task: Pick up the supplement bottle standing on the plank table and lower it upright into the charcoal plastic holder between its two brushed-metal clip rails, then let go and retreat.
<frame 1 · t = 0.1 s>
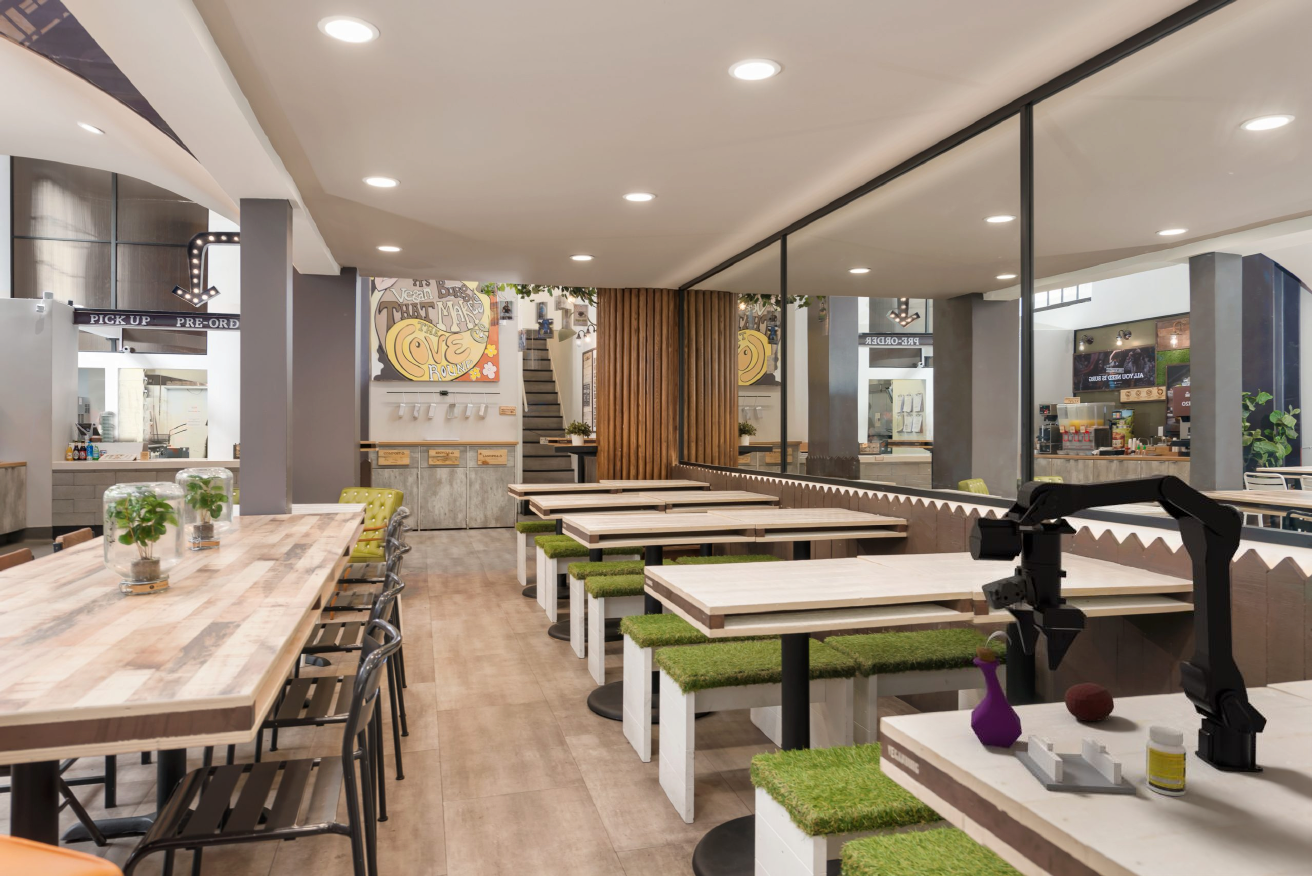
hand: (1039, 661, 126), 15 cm above the table, fingers open, 9 cm apart
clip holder: (1072, 774, 119), on the table
supplement bottle: (1165, 791, 114), on the table
purple potion bottle: (995, 743, 131), on the table
potato: (1089, 719, 144), on the table
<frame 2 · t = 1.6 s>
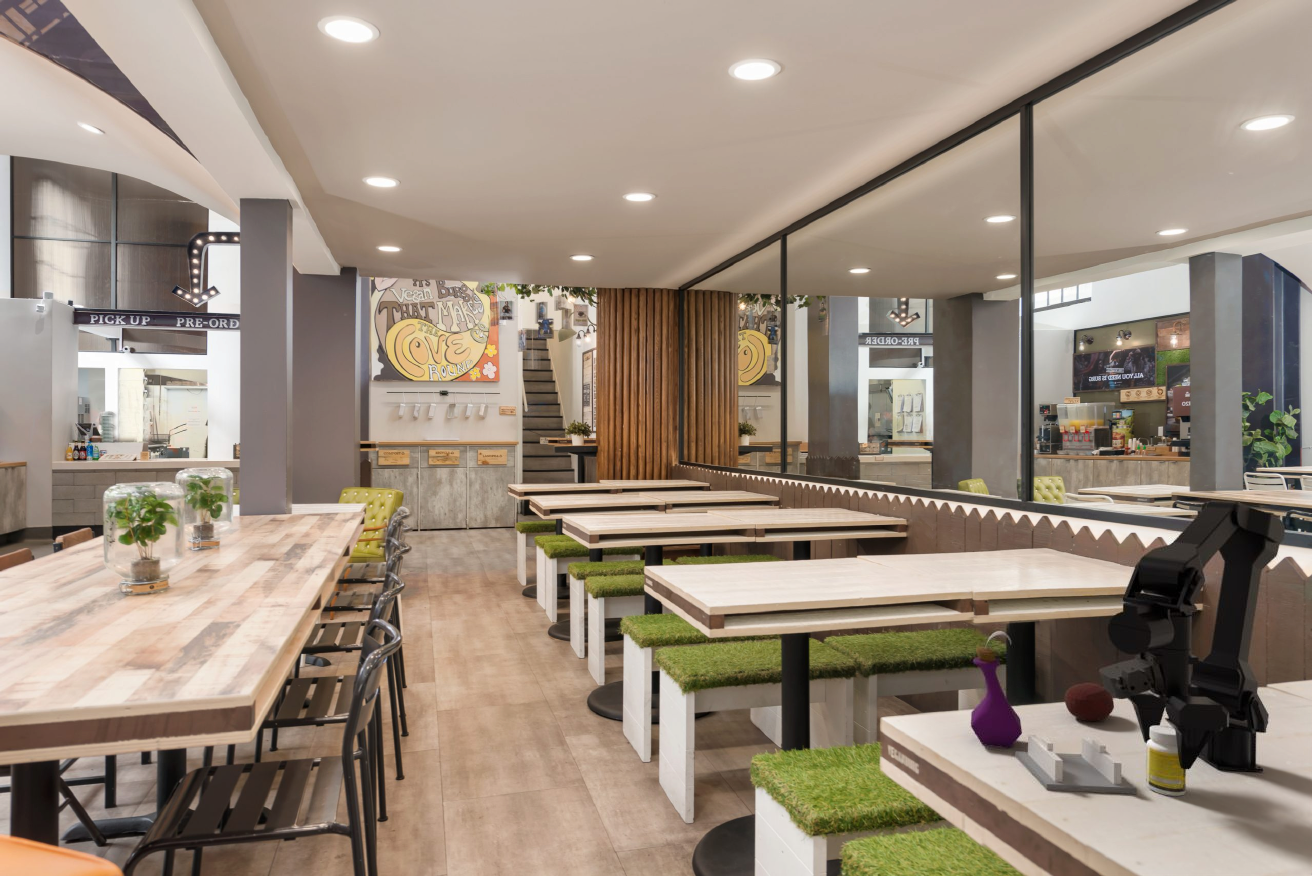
hand: (1166, 755, 114), 5 cm above the table, fingers open, 9 cm apart
nothing on the table moved.
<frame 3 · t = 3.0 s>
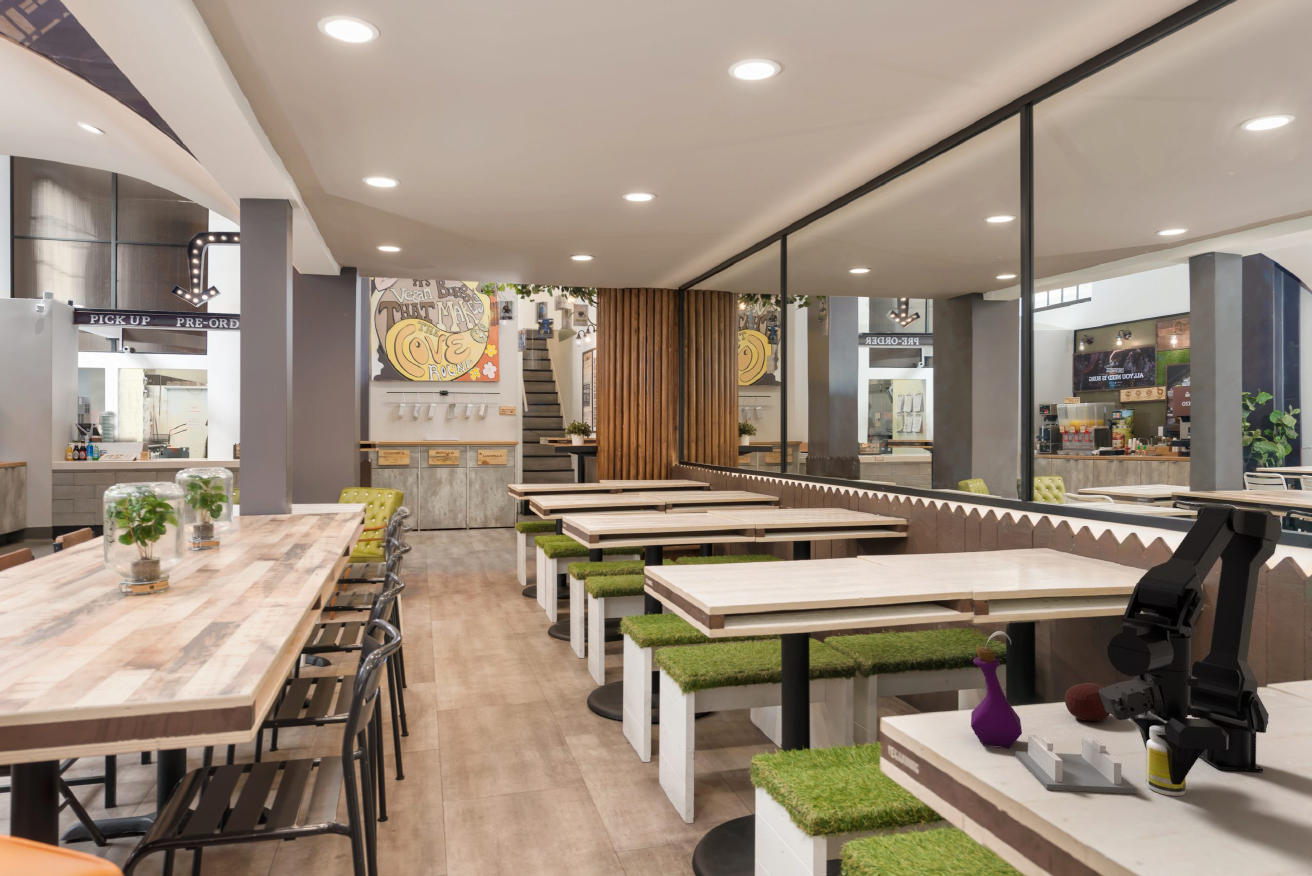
hand: (1165, 776, 114), 2 cm above the table, fingers closed on supplement bottle, 5 cm apart
supplement bottle: (1165, 790, 114), on the table, touching gripper
everything else where it was.
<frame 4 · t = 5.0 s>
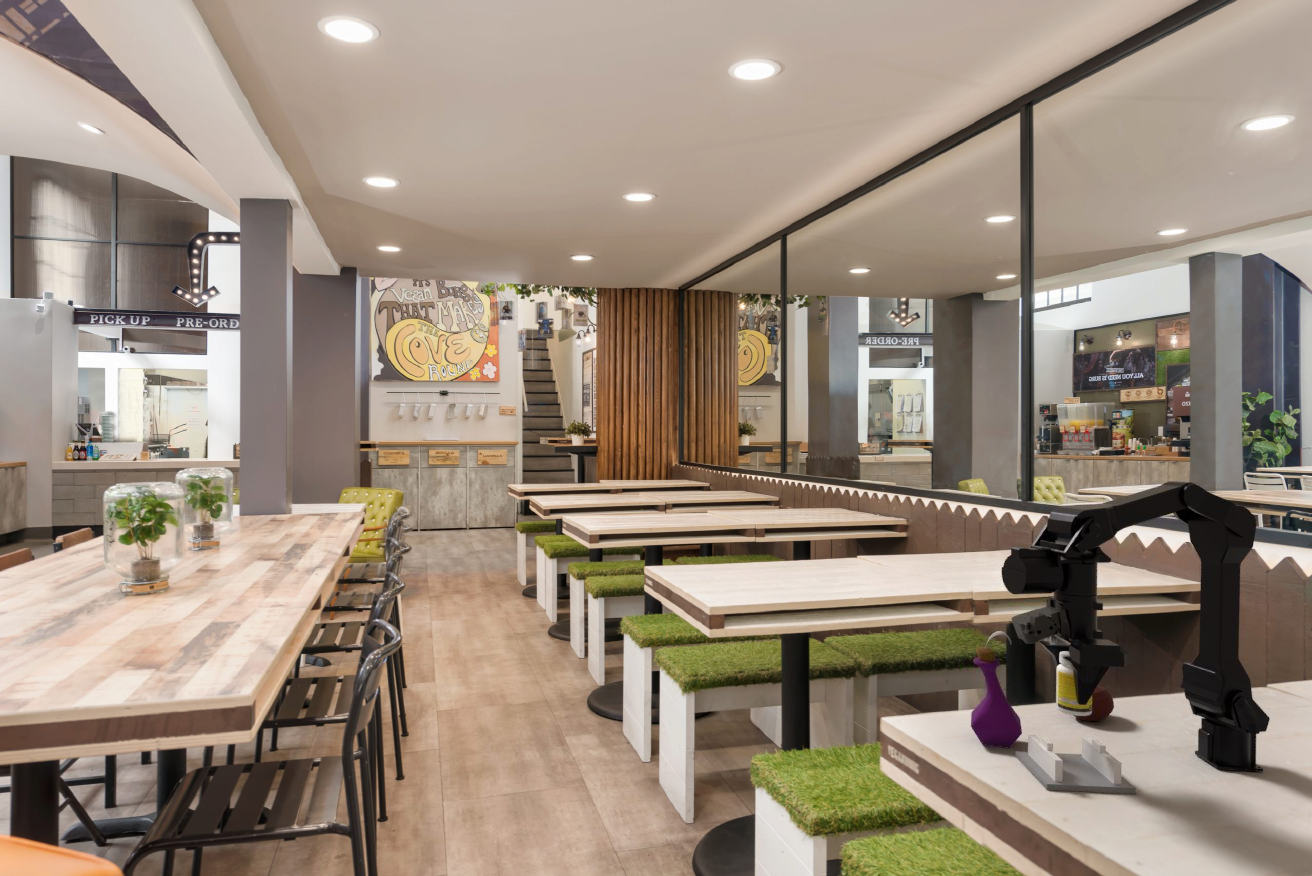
hand: (1074, 698, 119), 11 cm above the table, fingers closed on supplement bottle, 5 cm apart
supplement bottle: (1073, 712, 119), point 9 cm above the table, touching gripper
everything else where it was.
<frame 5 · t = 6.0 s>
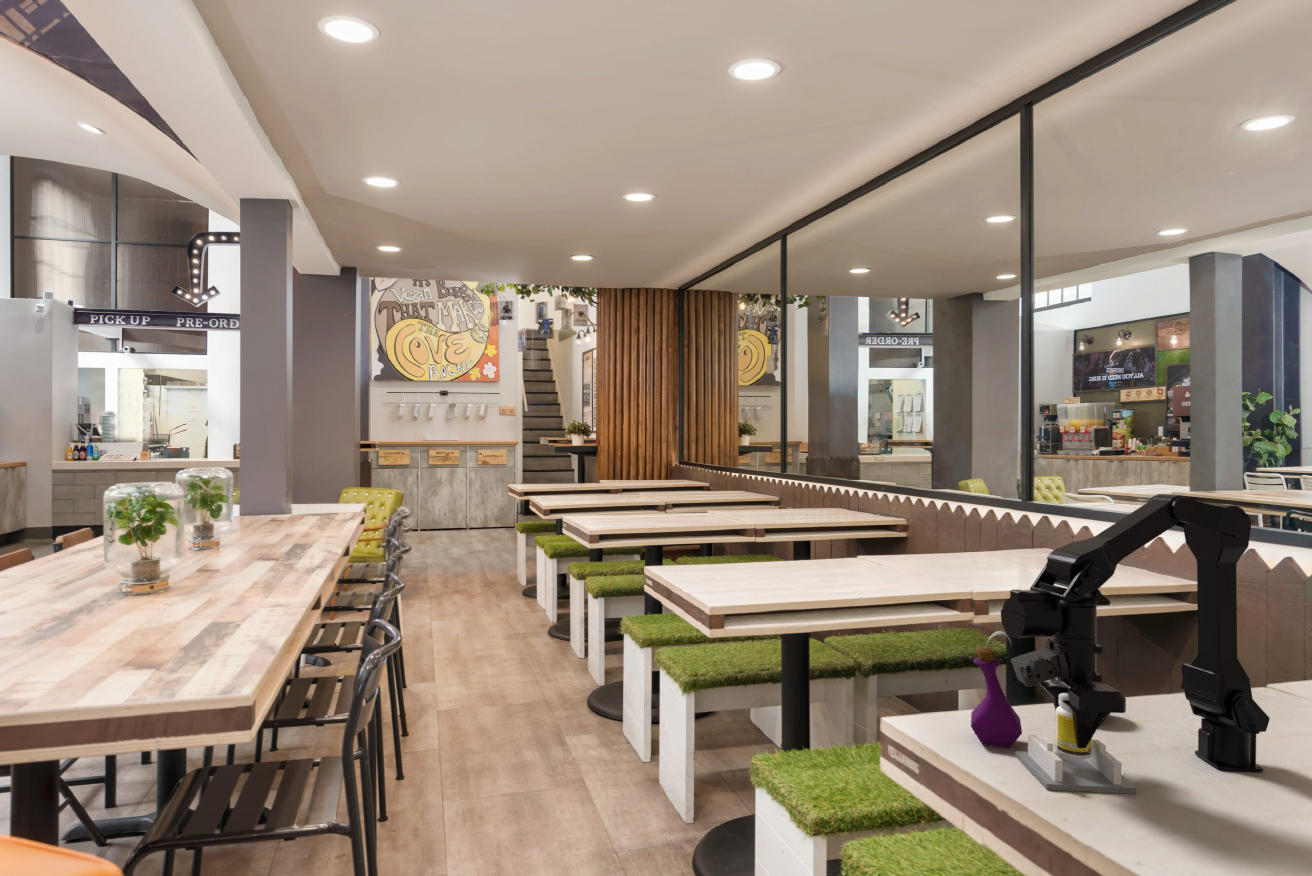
hand: (1073, 741, 119), 5 cm above the table, fingers closed on supplement bottle, 5 cm apart
supplement bottle: (1073, 755, 119), point 3 cm above the table, touching gripper
everything else where it was.
when the fingers open (4 cm above the table, at t = 6.9 s): supplement bottle drops 1 cm, resting on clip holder.
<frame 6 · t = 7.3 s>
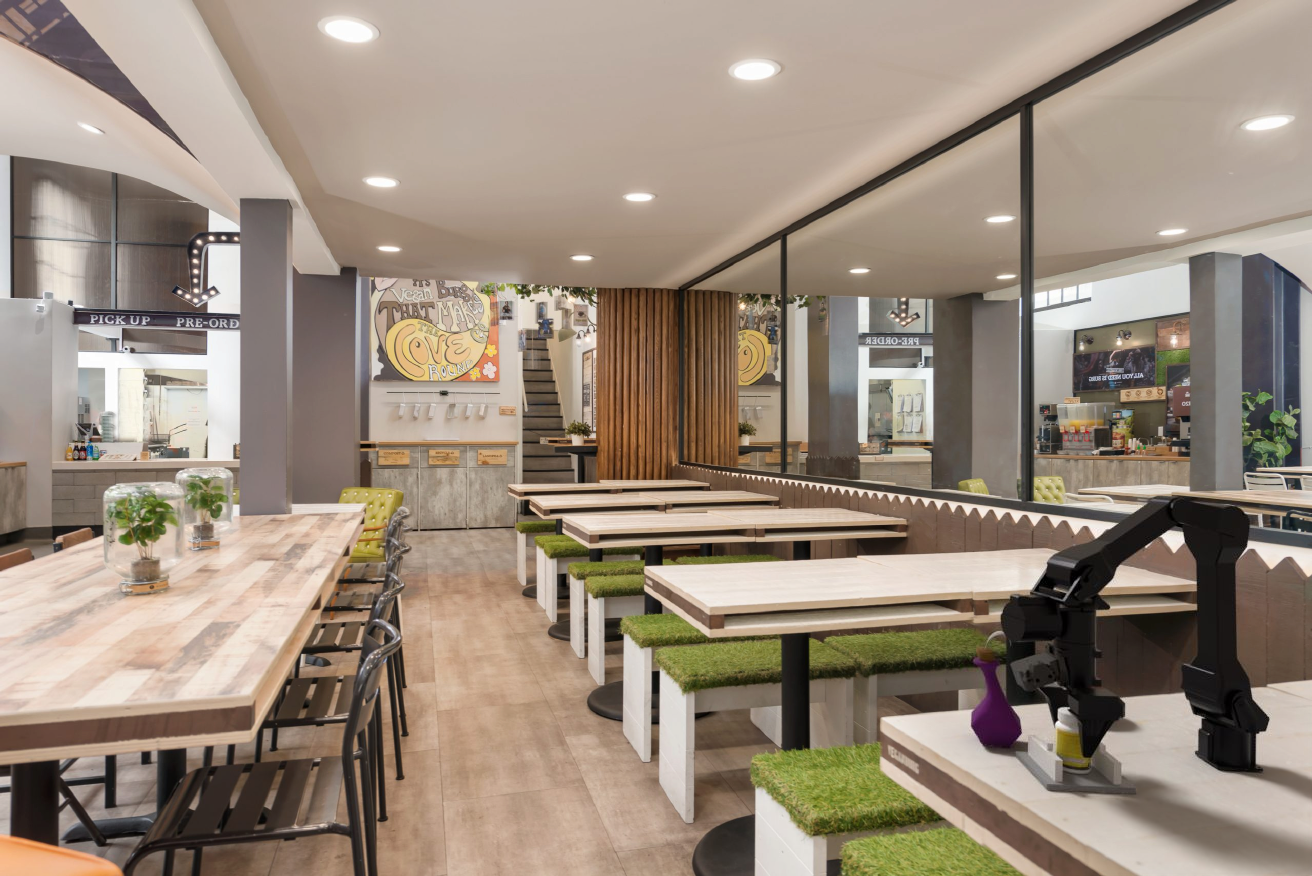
hand: (1072, 745, 119), 4 cm above the table, fingers open, 9 cm apart
supplement bottle: (1072, 769, 119), point 1 cm above the table, touching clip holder
everything else where it was.
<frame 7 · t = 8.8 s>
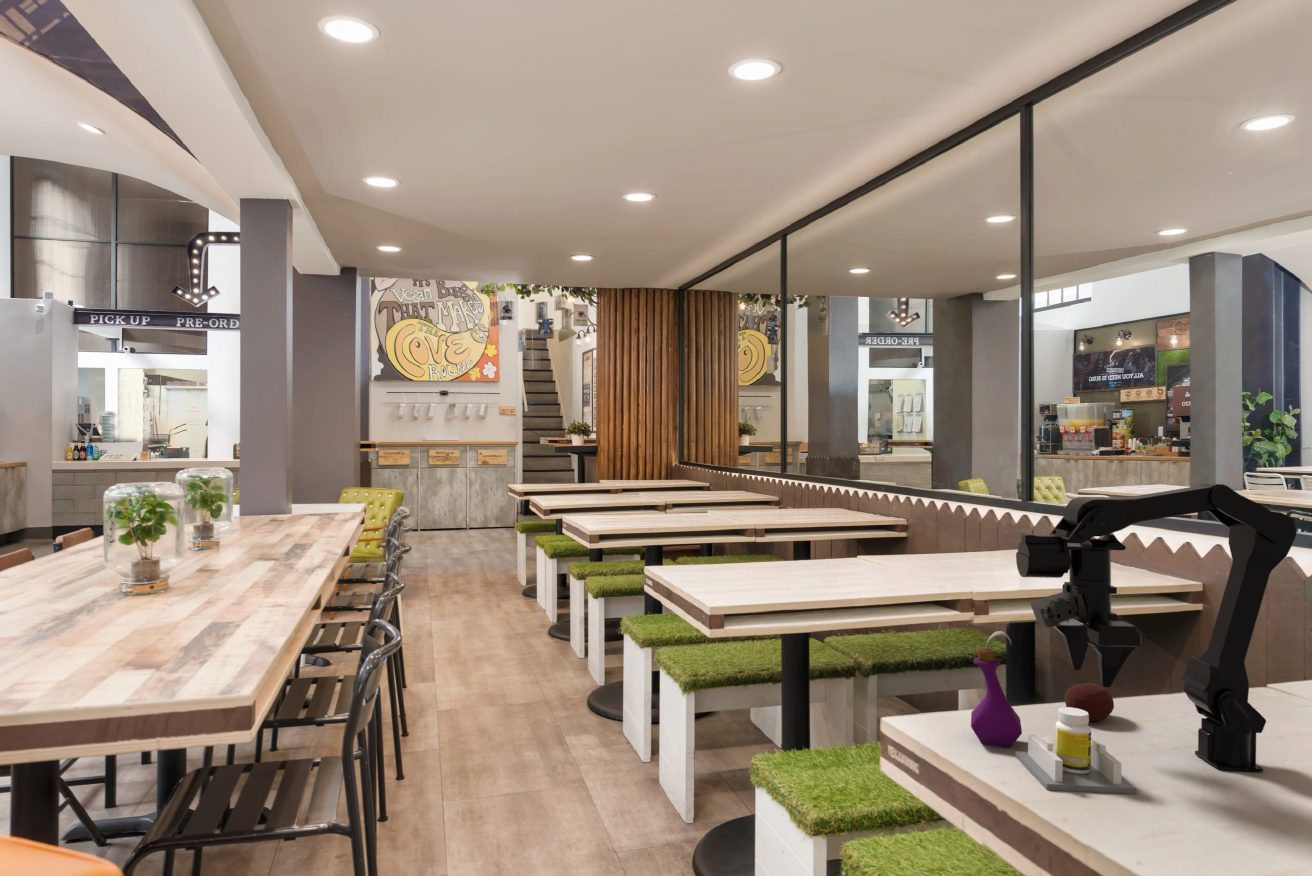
hand: (1090, 678, 126), 12 cm above the table, fingers open, 9 cm apart
nothing on the table moved.
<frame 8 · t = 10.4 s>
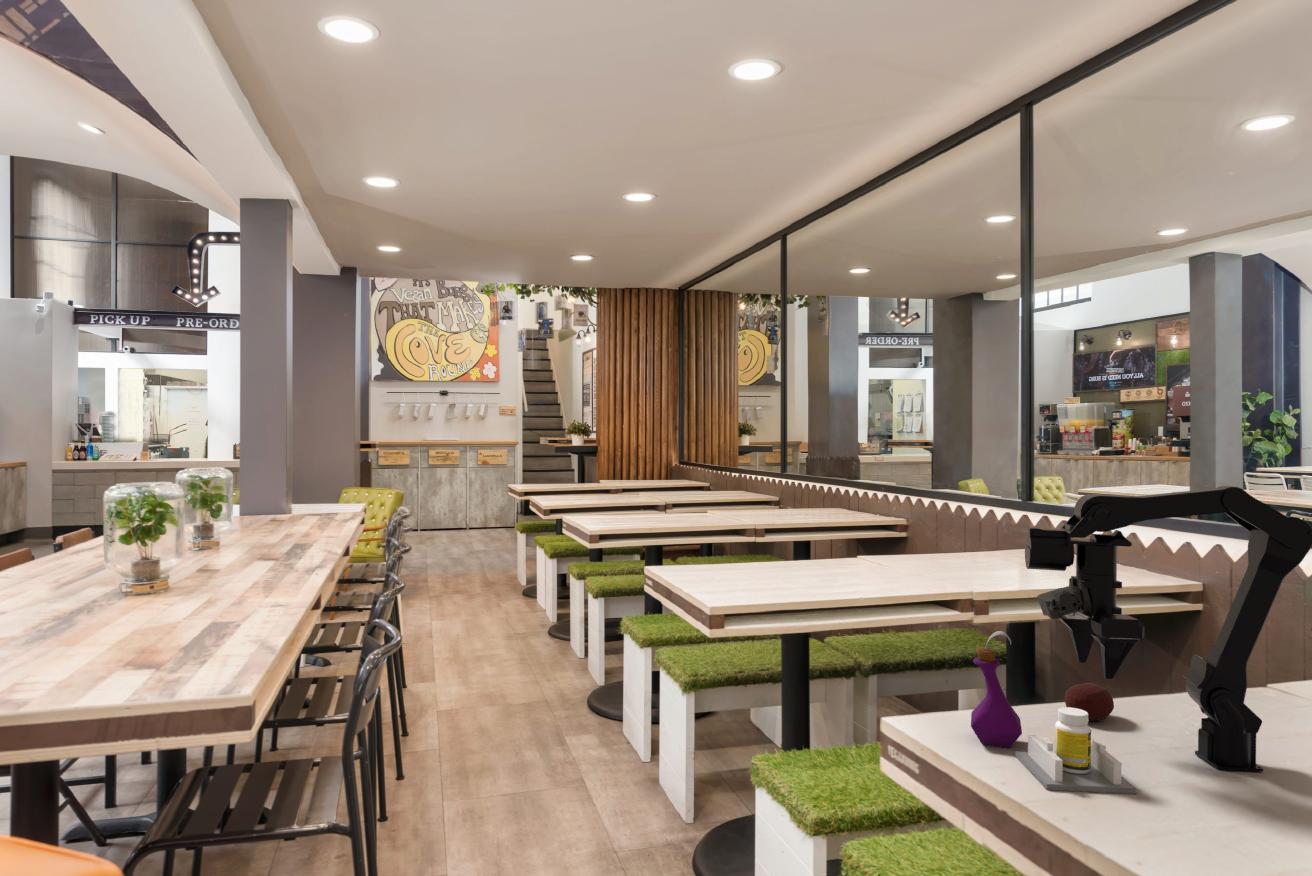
hand: (1094, 670, 129), 13 cm above the table, fingers open, 9 cm apart
nothing on the table moved.
at the end: supplement bottle 0.1 cm off-centre on the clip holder, point 0.6 cm above the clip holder's base; supplement bottle tilted 0°; the gripper is holding nothing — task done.
